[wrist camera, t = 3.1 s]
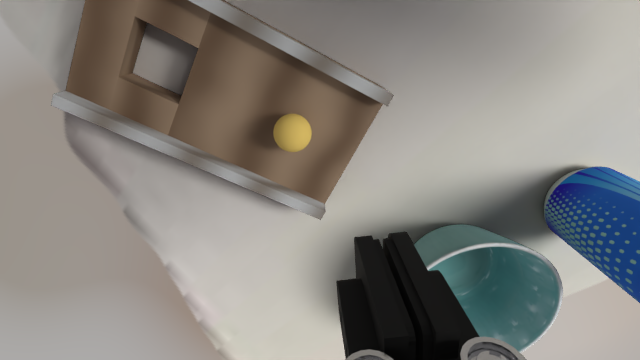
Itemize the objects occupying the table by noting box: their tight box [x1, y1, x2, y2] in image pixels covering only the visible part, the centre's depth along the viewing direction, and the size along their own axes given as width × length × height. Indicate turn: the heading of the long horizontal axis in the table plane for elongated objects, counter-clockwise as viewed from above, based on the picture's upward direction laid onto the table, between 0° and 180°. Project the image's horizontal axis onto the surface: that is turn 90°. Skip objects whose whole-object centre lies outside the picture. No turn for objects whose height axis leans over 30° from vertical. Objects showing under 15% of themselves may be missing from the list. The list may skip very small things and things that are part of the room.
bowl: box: [414, 224, 563, 353], centre depth 36 cm, size 16×16×8 cm
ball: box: [273, 114, 312, 152], centre depth 29 cm, size 3×3×3 cm
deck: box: [51, 0, 394, 220], centre depth 29 cm, size 24×13×4 cm, turn 63°
